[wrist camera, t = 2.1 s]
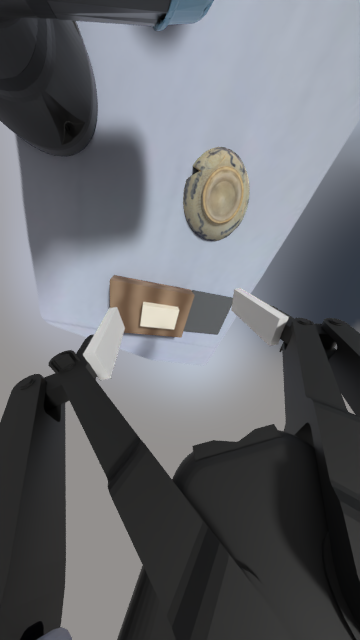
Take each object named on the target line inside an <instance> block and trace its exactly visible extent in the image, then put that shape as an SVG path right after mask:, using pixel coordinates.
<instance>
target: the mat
mask: <svg viewBox="0 0 360 640" xmlns="http://www.w3.org/2000/svg"><path fill="white" fill-rule="evenodd" d="M192 292H193V294H194V295H195V296H194V299H193V302H192V305H191V308H190V311H189V315H188V318H187V321H186V324H185V327H184V330H183V331H189V332H199V333H209V334H218V333H219V331H220V329H221V327H222V324H223V322H224V320H225V318H226V316H227V314H228V312H229V310H230V308H231V305H232V302H233V298H231V297H226V296H220V295H215V294H210V293H205V292H199V291H194V290H192Z"/></svg>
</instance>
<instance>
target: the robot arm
mask: <svg viewBox="0 0 360 640" xmlns="http://www.w3.org/2000/svg"><path fill="white" fill-rule="evenodd" d="M213 1H214V0H0V121H1V122H3V124H5V125H6V126H7V127H8V128H9V129H11V130H12V131H13V132H14V133H16V134H17V135H18V136H20V137H21V138H22V139H24V140H25V141H26V142H28V143H29V144H31V145H32V146H34V147H36V148H37V149H39V150H41V151H44V152H46V153H49V154H52V155H57V156H70V155H73V154H76V153H78V152H80V151H81V150H82V149H84V148H85V147H86V145H87V144H88V143H89V141H90V139H91V138H92V135H93V133H94V130H95V126H96V121H97V91H96V84H95V79H94V74H93V70H92V66H91V63H90V59H89V56H88V53H87V50H86V47H85V45H84V42H83V39H82V36H81V33H80V31H79V28H78V25H77V23H76V21H86V22H100V23H115V24H129V25H143V26H153V28H154V29H155V31H162V30H163V29H165V28H166V27H167V25H173V24H190V23H195V22H197V21H199V20H201V19H202V18H203V17H204V16H205V15H206V13H207V12H208V10H209V8H210V6H211V5H212V3H213ZM231 310H232V311H233V312H234V313H235V314H236V315H237V316H238V317H239V318H240V319H241V320H242V321H243V322H245V323H246V324H247V325H248V326H249V327H250V328H251V329H252V330H253V331H254V332H255V333H256V334H257V335H259V336H260V337H261V338H262V339H263V340H264V341H265V342H266V343H267V344H268V345H269V346H272V345H277V344H278V343H279V340H280V339H281V340H283V341H284V342H283V344H282V347H281V349H280V352H281V351H283V372H284V392H285V413H286V425H285V429H284V431H279V430H277V428H276V427H275V425H274V424H272V425H269V426H265V427H261V428H258V429H255V430H253V431H252V432H251V433H249V434H248V435H247V436H245V437H244V438H243V439H241V440H240V441H238V442H228V441H215V440H213V441H209V442H206V443H202V444H199V445H195V446H193V452H192V453H191V454H189V455H188V456H187V457H186V458H185V459H184V460H183V461H182V463H181V464H180V466H179V467H178V469H177V470H176V473H175V475H174V477H173V479H171V478H170V477H169V475H168V474H167V473H166V471H165V470H164V469H163V467H162V466H161V465H160V464H159V462H158V461H157V460H156V458H155V457H154V456H153V454H152V453H151V452H150V451H149V449H148V448H147V447H146V445H145V444H144V443H143V442H142V441H141V440H140V438H139V437H138V436H137V434H136V433H135V432H134V430H133V429H132V428H131V426H130V425H129V424H128V422H127V421H126V420H125V418H124V417H123V416H122V414H121V413H120V412H119V410H118V409H117V408H116V407H115V405H114V404H113V403H112V401H111V400H110V399H109V398H108V396H107V395H106V393H105V392H104V391H103V389H102V388H101V387H100V386H99V384H98V383H97V382H96V377H98V378H99V380H105V379H110V378H111V376H112V372H113V369H114V365H115V361H116V358H117V355H118V351H119V347H120V344H121V340H122V337H123V333H124V330H125V327H124V324H123V322H122V319H121V316H120V314H119V311H118V308H117V307H114V308H109V310H108V312H107V313H106V315H105V317H104V319H103V320H102V322H101V324H100V326H99V327H98V329H97V331H96V333H95V334H94V335H90V336H89V337H87V338H86V339H85V341H84V342H83V345H81V347H80V349H79V350H78V352H77V354H75V352H74V351H71V350H69V351H64V352H62V353H59V354H58V355H56V356H54V357H53V358H52V359H51V360H50V362H49V366H50V367H51V368H52V370H54V372H55V374H53V375H50V376H47V377H45V378H44V377H43V376H42V375H40V374H34V375H31V376H29V377H27V378H25V379H23V380H22V381H20V382H19V383H18V384H17V385H16V386H15V387H14V388H13V390H12V392H11V395H10V397H9V400H8V403H7V406H6V408H5V411H4V414H3V416H2V419H1V422H0V640H72V637H71V636H70V634H69V632H68V630H67V629H65V628H62V627H60V624H61V616H62V606H63V598H64V588H65V566H66V564H65V563H66V519H65V518H66V509H65V507H66V501H65V402H67V401H69V400H70V402H71V404H72V406H73V408H74V411H75V412H76V415H77V416H78V419H79V421H80V423H81V425H82V427H83V429H84V431H85V433H86V435H87V437H88V439H89V441H90V443H91V445H92V448H93V450H94V452H95V453H96V456H97V458H98V460H99V462H100V464H101V466H102V468H103V470H104V472H105V474H106V476H107V479H108V489H109V492H110V495H111V497H112V500H113V502H114V504H115V506H116V508H117V510H118V513H119V515H120V517H121V519H122V521H123V523H124V525H125V528H126V530H127V532H128V534H129V536H130V538H131V540H132V543H133V545H134V547H135V549H136V551H137V553H138V556H139V558H140V560H141V562H142V564H143V566H142V569H141V572H140V575H139V578H138V581H137V584H136V586H135V590H134V592H133V595H132V598H131V601H130V604H129V607H128V610H127V613H126V616H125V618H124V622H123V624H122V628H121V630H120V633H119V636H118V639H117V640H360V333H359V332H357V331H356V330H355V329H354V328H352V327H351V326H350V325H349V324H347V323H345V322H344V321H341V320H339V319H332V318H327V319H324V321H323V323H322V324H314V323H313V322H311V321H310V320H307V319H303V318H295V319H294V318H292V317H291V316H289V315H287V314H286V313H284V312H282V311H280V310H278V309H277V308H275V307H274V306H271V305H268V304H266V303H264V302H263V301H261V300H259V299H258V298H256V297H254V296H253V295H251V294H249V293H248V292H246V291H244V290H243V289H241V288H239V289H234V295H233V302H232V309H231ZM336 344H337V350H336V349H335V348H334V347H335V345H336ZM341 394H342V395H343V397H344V398H345V400H346V401H347V402H348V404H349V406H350V407H351V409H352V410H353V411H354V413H355V414H356V415H354V414H352V413H349V412H348V410H347V409H346V406H345V403H344V400H343V398H342V395H341Z"/></svg>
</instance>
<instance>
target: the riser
mask: <svg viewBox="0 0 360 640" xmlns="http://www.w3.org/2000/svg"><path fill="white" fill-rule="evenodd" d="M194 296H195V295H194V294H193V292H192V291H191V290H189V289H184V288H179V287H173V286H168V285H163V284H158V283H152V282H147V281H142V280H137V279H132V278H126V277H121V276H116V275H114V276H113V277H112V278H111V279H110V308H114V307H117V308H118V311H119V314H120V316H121V319H122V322H123V324H124V327H125V330H124V333H136V334H147V335H159V336H171V337H182V334H183V330H184V327H185V324H186V321H187V318H188V315H189V311H190V308H191V305H192V302H193V299H194ZM143 302H149V303H155V304H162V305H169V306H175V307H178V308H179V314H178V317H177V321H176V324H175V328H174V330H173V329H163V328H154V327H144V326H140V324H141V315H142V307H143Z"/></svg>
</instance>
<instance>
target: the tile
mask: <svg viewBox="0 0 360 640" xmlns="http://www.w3.org/2000/svg"><path fill="white" fill-rule="evenodd" d="M178 314H179V308H178V307H175V306H169V305H162V304H155V303H149V302H143V307H142V315H141V324H140V326H144V327H154V328H163V329H173V330H174V328H175V324H176V321H177V317H178Z"/></svg>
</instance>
